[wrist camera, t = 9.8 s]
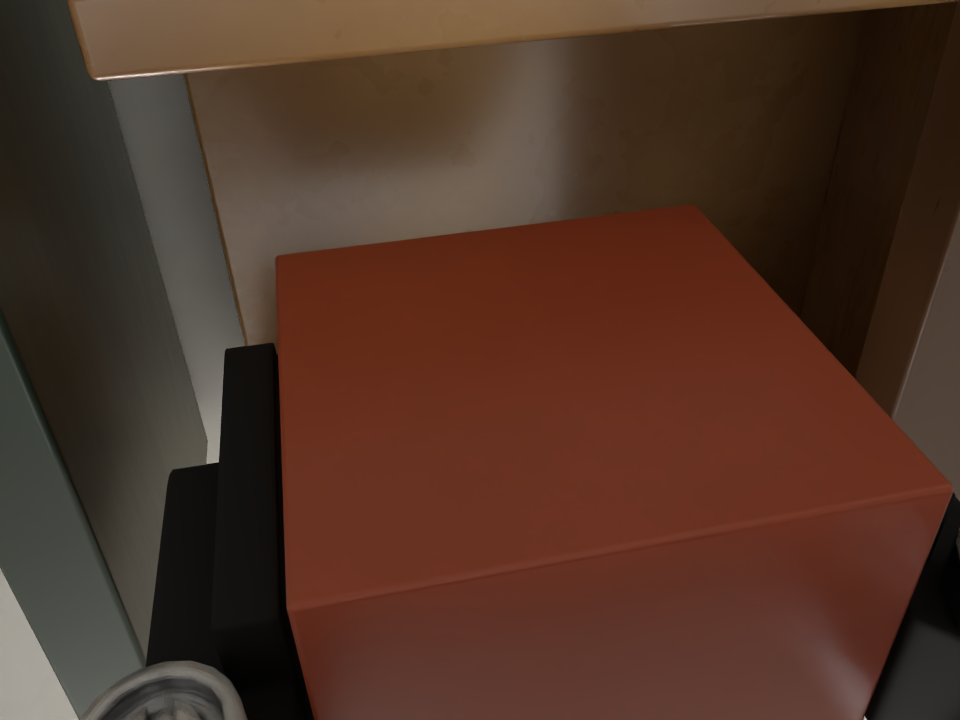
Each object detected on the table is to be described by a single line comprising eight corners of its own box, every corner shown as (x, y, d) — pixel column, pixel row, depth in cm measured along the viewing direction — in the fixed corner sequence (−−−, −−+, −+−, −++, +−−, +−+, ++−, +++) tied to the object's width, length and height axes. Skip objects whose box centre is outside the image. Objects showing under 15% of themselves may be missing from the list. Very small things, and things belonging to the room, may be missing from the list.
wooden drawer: (-69, 483, 19) (-225, 848, 13) (-413, -155, 12) (-1134, -34, 6) (792, 351, 22) (1004, 595, 16) (916, -223, 15) (1387, -191, 9)
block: (331, 556, 12) (364, 930, 8) (273, 253, 9) (285, 607, 6) (658, 499, 13) (825, 820, 9) (695, 201, 10) (958, 487, 6)
